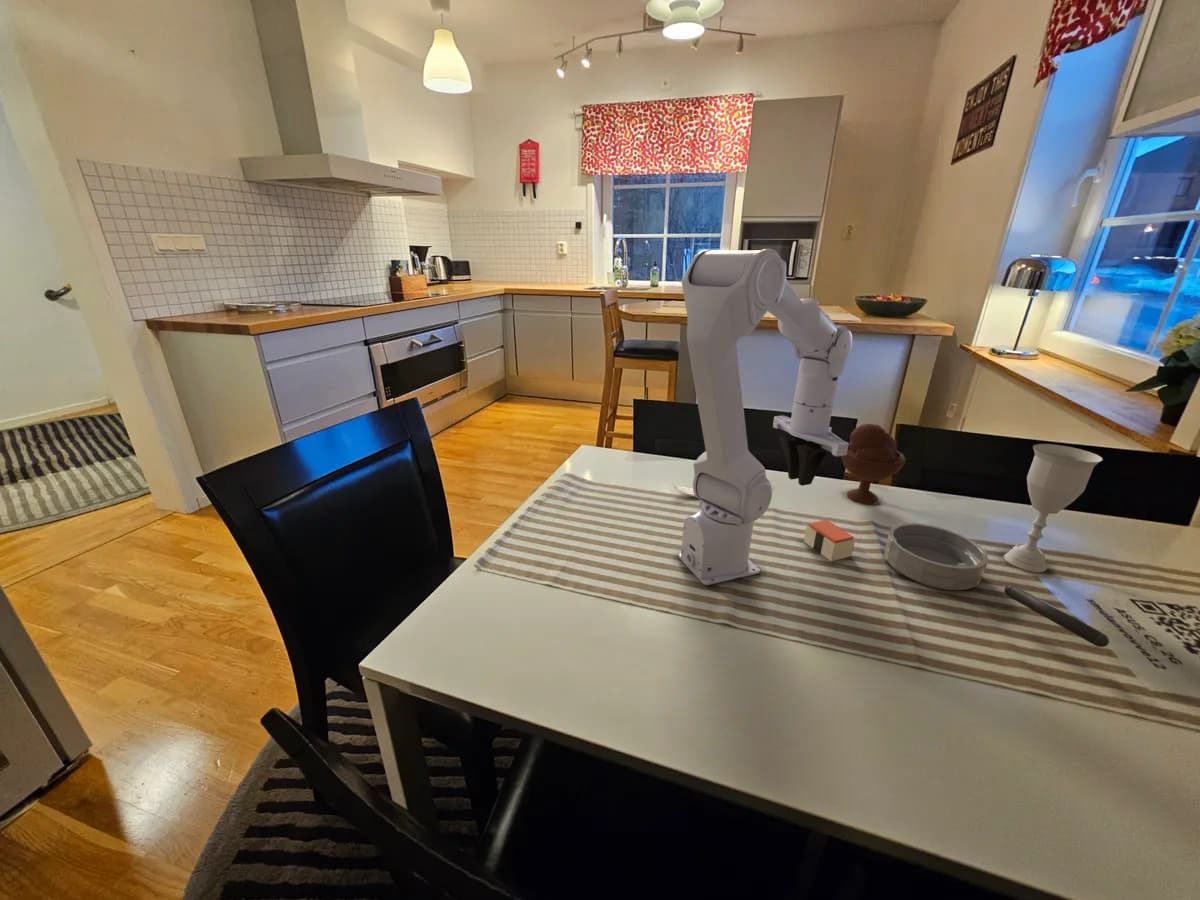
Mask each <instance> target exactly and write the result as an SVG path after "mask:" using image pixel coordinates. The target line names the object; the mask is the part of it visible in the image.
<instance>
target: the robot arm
mask: <svg viewBox="0 0 1200 900" xmlns="http://www.w3.org/2000/svg"><path fill="white" fill-rule="evenodd" d="M681 287H682V292H683V299H684V304H685V310H686V311H685V312H686V318H687V324H686V325H687V326H686V343H687V348H688V355H689V360H690V366H691V372H692V378H693V385H694V390H695V395H696V401H697V408H698V413H699V418H700V424H701V430H702V431H701V432H702V436H703V442H704V449H705V451H704V452H703V453H701V454H700V455H699V456H698V457H697V459H696V460H695V461H694V462H693V472H694V474H693V475H694V476H693V480H692V488H693V492H694V494H695V496H694V497H695V498H697V499H699V504H698V506H699V507H700V508H701V509H700V510H699V511H698V512H697V513H695V514H692V515H689V516H688V517H686V518H685V519H684V522H683V528H682V540H681V551H680V553H678V558H679V559H680V561H682V563H683V564H684V565H685V566H686V567H687V569H689V570H690V571H691V572H692V574H694V576H695V577H696V578H697V579H698V580H699V582H700V583H702V584H703V586H710V585H714V584H719V583H723V582H727V581H733V580H736V579H741V578H744V577H748V576H752V575H757V574H760V573H761V568H759V567H758V566H757V565H756V564H755V563H754V562H753V561H751V560H750V559H749V558H750V553H751V552H750V550H751V544H752V536H753V530H754V522H755V521H757V520H759V519H760V518H761V517H763V515H765V513H766V512H767V510H768V509H769V506H770V504H771V501H772V496H773V489H772V484H771V482H770V481H769V479H768V477H767V474H766V468H765V467H764V465H763V464H762V463H761V462H760V461H759V460H758V459H757V458H756V457H755V456H754V455H753V454H752V453H751V452H750V451H749V444H748V436H747V435H748V434H747V427H746V418H745V409H744V401H743V400H744V399H743V392H742V391H743V390H742V384H741V375H740V365H739V356H738V347H737V343H738V341H739V339H741V338H744V337H746V336H749V335H750V334H752V333H753V332H754V330H755V328H756V327H757V326H758V324H759V323H760V322H761V320H762V319H763V318H764V317H765V315H766V314H767V313H769V314H771V315H772V316H773V317H775V318H776V319H778V321H777V328H778V331H779V332H780V334H781V335H782V336H783V337H784V338H786V339H787V340H788V341H789V342H790V343H791V345H792V346H793V353H794V356H795V359H798V360H799V366H798V372H797V378H796V385H795V391H794V399H793V404H792V410H791V417H788V416H786V415H777V416H774V417H773V423H772V428H774V429H776V430H783V431H784V432H786V433H787V434H786V435H785V436H781V437H780V438H779V443H780V445H781V447H782V450H783V453H784V456H785V460H786V467H787V468H786V469H787V474H788V476H787V477H788V479H789V480H791V481H793V480H797V479H798V485H800V486H808V485H812V483H813V481H814V479H815V477H816V475H817V473H818V471H819V469H820V468H821V466H822V465H823V464H824V462H825V461H826V460H827V459H828V458H829V456H830V455H832V456H834V457H837V458H838V457H841V456H843V455H847V450H848V445H849V443H850V442H847V441H845V440H843V439H842V438H840V437H839V436H837V435H836V434H835V433H833V431H832V429H833V427H831V426H830V423H831V417H832V414H833V407H834V403H835V398H836V392H837V386H838V381H839V377H840V376H842V375H843V373H844V370H845V366H846V362H847V360H848V358H849V356H850V355H851V351H852V348H853V335H852V331H851V330H849V329H848V328H847V327H846V326H845V325H840V324H835V322H834V321H832V319H831V317H830V316H829V314H826V312H825V311H824V310H823V309H822V308H821V307H820V306H819V304H820V302H819V301H818V300H817V298H811V297H806V298H805V297H803V298H800V296H799V295H798V293H797V292H796V290H794V288H793V286H792V285H791V283H790V282H789V281H788V279H787V262H786V261H785V260H783V259H782V258H781V256H780V254H779V253H778V251H776V250H775V249H772V248H763V249H760V250H758V249H757V250H754V249H753V250H715V249H714V250H713V249H702V250H700V251H699V252H697V253H696V254H695V255H694V256H693V258H692V259H691V261H690V262H689V265H688V267H687V269H686V271H685V273H684V275H683V277H682V279H681Z"/></svg>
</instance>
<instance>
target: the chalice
mask: <svg viewBox="0 0 1200 900" xmlns="http://www.w3.org/2000/svg"><path fill="white" fill-rule="evenodd" d="M1032 449H1033V452H1034V456H1033V460H1032V462H1031V465H1030V467H1029V470H1028V473H1027V475H1026V484H1027V492H1028V496H1029V499H1030V503H1031V506H1032V508H1033V509H1034V510H1036V511H1038V513H1037V514H1038V515H1037V517H1036V518H1035V519H1034V520H1033V521H1032V524H1033V528H1032V529H1031V530H1030V531H1027V534H1028V536H1029V537H1028V540H1027V542H1026V543H1023V544H1021V543H1020V544H1017V545H1015V546H1013V547H1012V548H1011V549H1010V550H1009V551H1008V552H1007V553H1005V554H1004V555H1003V558H1004V560H1005V561H1006V562H1007V563H1009V564H1010V565H1012V566H1014V567H1016V568H1019V569H1021V570H1024V571H1027V572H1034V573H1043V572H1046V571H1047V569H1048V568H1047V565H1046V563H1047V562H1046V559H1045V557H1046V556H1045V554H1044V553H1043V551H1042V550H1040V549H1039V547H1038V545H1037V544H1038V542H1039V541H1040V539H1042V538H1044V535H1043V534H1042V530H1043V529H1044V528H1046V527H1047V526H1048V524H1047V517H1048V516H1049V515H1053V514H1054V515H1055V514H1058V513H1060V512H1061V511H1062V510H1064V509H1065V508H1067V507H1068V506H1069V505H1071V504H1072V503H1073V502H1075V500H1077V499H1078V498H1079V497H1080V496H1081V495H1082V494H1083V493H1084V492H1085V490H1086V487H1087V485H1088V483H1089V480H1090V478H1091V475H1092V473H1093V471H1094V468H1095V466H1097V465H1098V464H1099V463H1101V462H1102V461H1103V457H1102V456H1100V455H1099V454H1097V453H1093V452H1091V451H1089V450H1088V451H1087V450H1084V449H1081V448H1076V447H1072V446H1066V445H1061V444H1053V443H1052V444H1051V443H1037V444H1033V446H1032Z"/></svg>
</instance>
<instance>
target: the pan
mask: <svg viewBox="0 0 1200 900" xmlns="http://www.w3.org/2000/svg"><path fill="white" fill-rule="evenodd" d="M883 556H884V558H885V560H886V562H887V563H888V564H889V565H890V566H891V567H892V568H893V569H894V570H896V571H897V572H898V573H900V574H901V575H903V576H904V577H906V578H908V579H910V580H912V581H914V582H916V583H919V584H921V585H925V586H928V587H930V588H935V589H939V590H946V591H947V590H948V591H963V590H964V591H965V590H969V589H972V588H973V589H974V588H976V587H977V586H979V584H980V583H981V582H982V579H983V577H984V574H985V571H986V568H987V565H988V562H989V557H988V554H987V552H986V551H985V550H984V548H983V547H982V546H980V544H978V543H977V542H975V541H974V540H972V539H970V538H968V537H967V536H964V535H962V534H961V533H959V532H956V531H952V530H951V529H947V528H944V527H940V526H935V525H931V524H924V523H915V522H914V523H913V522H911V523H907V522H906V523H900V524H896V525H894V526H892V527H891V528H890V529H889V531H888V535H887V540H886V542H885V546H884V552H883Z"/></svg>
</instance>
